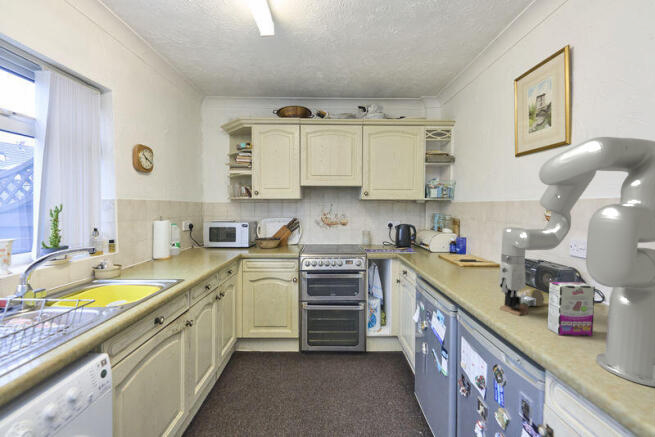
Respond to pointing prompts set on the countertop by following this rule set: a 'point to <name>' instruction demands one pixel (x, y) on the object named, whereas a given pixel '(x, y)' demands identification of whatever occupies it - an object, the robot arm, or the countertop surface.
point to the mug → (533, 295)
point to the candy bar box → (571, 308)
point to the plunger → (524, 300)
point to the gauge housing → (522, 309)
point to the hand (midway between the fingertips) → (510, 305)
